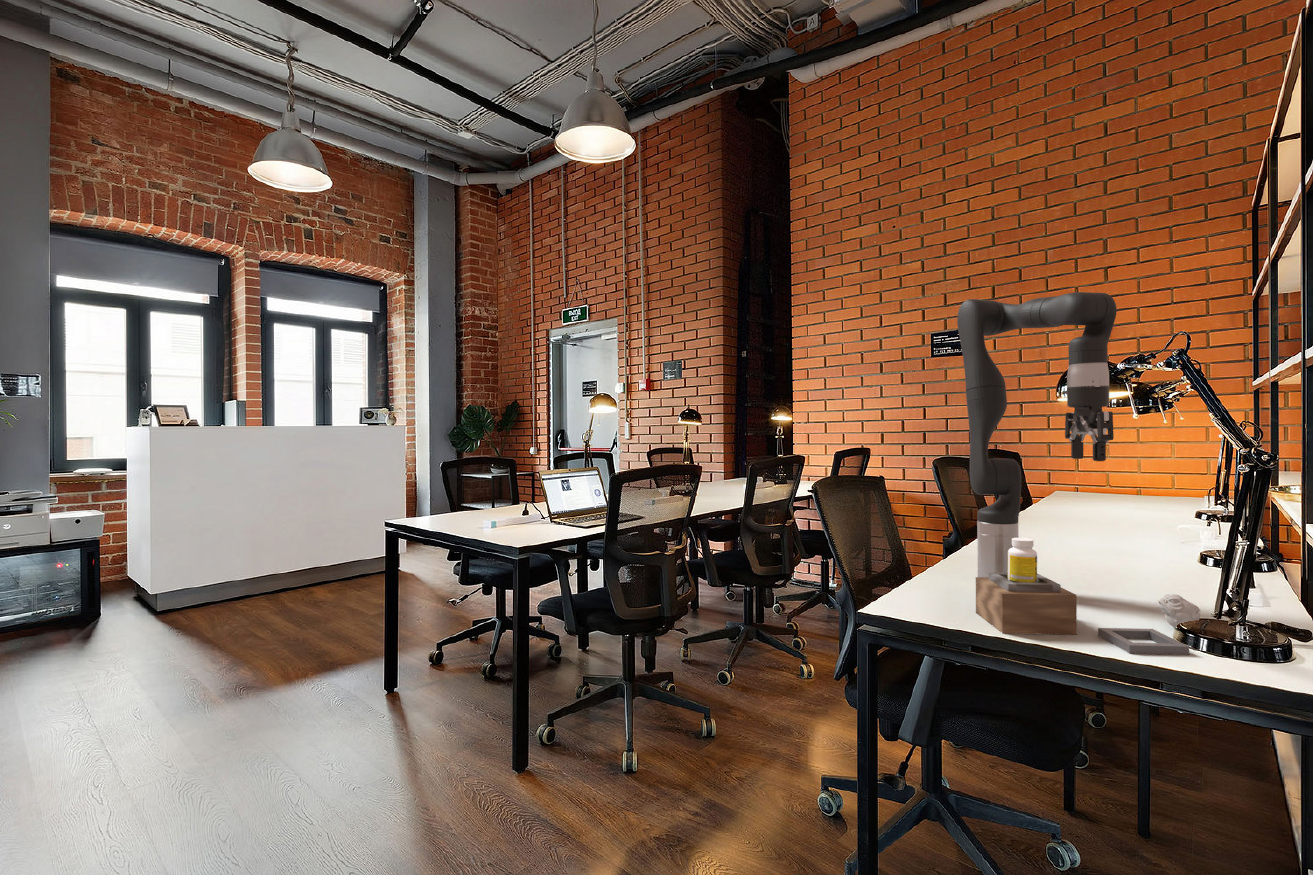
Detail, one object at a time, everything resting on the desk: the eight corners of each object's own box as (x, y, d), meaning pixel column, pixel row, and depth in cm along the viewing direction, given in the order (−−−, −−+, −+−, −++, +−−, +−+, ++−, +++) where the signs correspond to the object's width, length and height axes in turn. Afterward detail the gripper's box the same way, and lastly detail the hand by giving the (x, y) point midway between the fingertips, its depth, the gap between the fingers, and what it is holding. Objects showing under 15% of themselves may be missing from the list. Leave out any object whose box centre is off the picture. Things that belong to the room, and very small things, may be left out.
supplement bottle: (1041, 588, 131) (1041, 541, 131) (1012, 587, 132) (1012, 541, 132) (1031, 582, 136) (1031, 537, 136) (1004, 581, 138) (1004, 536, 137)
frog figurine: (1152, 623, 133) (1152, 590, 133) (1192, 626, 131) (1192, 592, 131) (1165, 632, 127) (1165, 597, 127) (1207, 635, 125) (1207, 600, 125)
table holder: (1098, 635, 126) (1098, 627, 126) (1152, 636, 125) (1152, 628, 125) (1129, 653, 116) (1129, 645, 116) (1189, 654, 115) (1189, 646, 115)
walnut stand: (975, 612, 142) (975, 570, 142) (1042, 613, 140) (1042, 571, 140) (1002, 633, 128) (1002, 586, 128) (1076, 634, 126) (1076, 587, 126)
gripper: (1052, 387, 145) (1053, 458, 145) (1087, 383, 131) (1087, 462, 131) (1088, 386, 144) (1088, 458, 144) (1126, 382, 130) (1127, 461, 130)
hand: (1088, 459), depth 138 cm, fingers open, 8 cm apart
